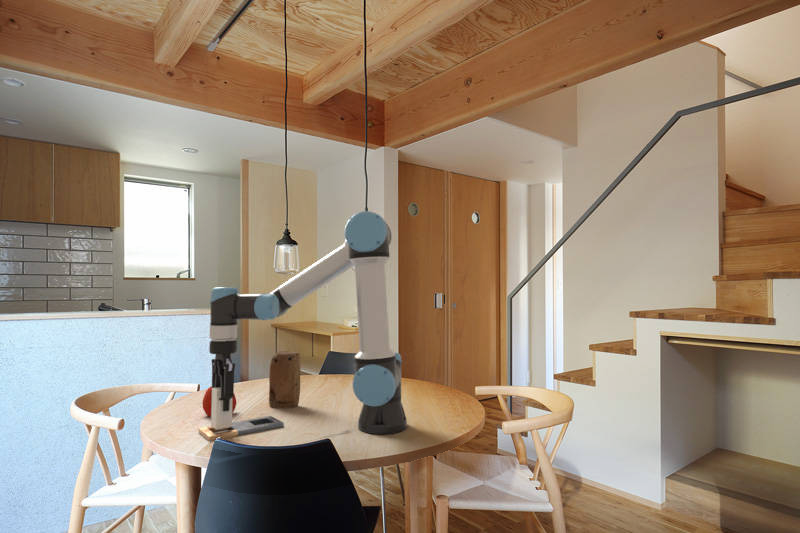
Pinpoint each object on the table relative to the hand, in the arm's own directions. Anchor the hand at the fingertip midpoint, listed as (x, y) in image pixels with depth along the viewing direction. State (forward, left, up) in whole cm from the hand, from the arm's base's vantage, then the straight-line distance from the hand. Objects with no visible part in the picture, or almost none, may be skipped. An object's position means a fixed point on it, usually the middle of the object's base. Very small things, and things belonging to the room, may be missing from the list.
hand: (221, 419), depth 136 cm
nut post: (0, 0, -2) cm, 2 cm away
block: (+20, -29, -5) cm, 35 cm away
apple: (+24, -7, -5) cm, 25 cm away
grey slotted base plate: (0, -6, -5) cm, 8 cm away
